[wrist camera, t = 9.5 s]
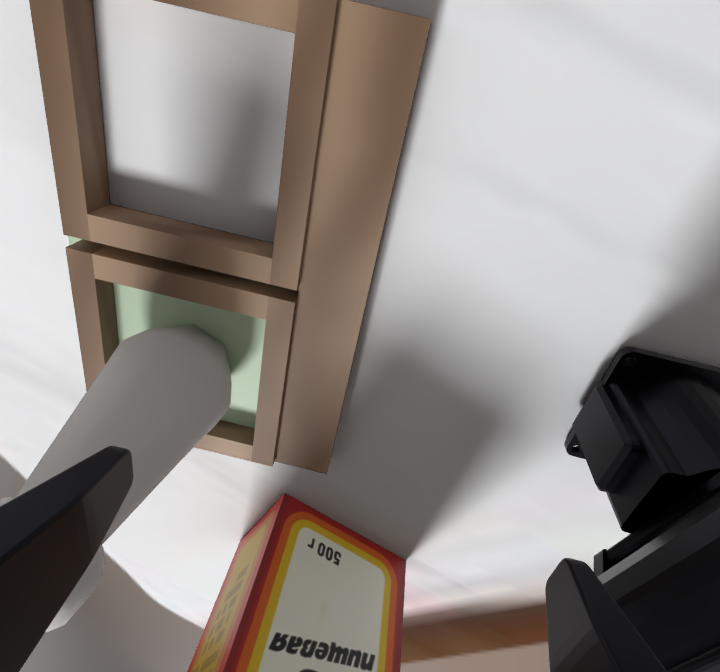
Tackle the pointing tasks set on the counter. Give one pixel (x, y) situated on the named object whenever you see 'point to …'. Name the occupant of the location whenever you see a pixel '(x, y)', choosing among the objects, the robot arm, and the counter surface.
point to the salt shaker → (141, 420)
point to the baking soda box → (305, 600)
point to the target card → (228, 327)
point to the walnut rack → (294, 213)
